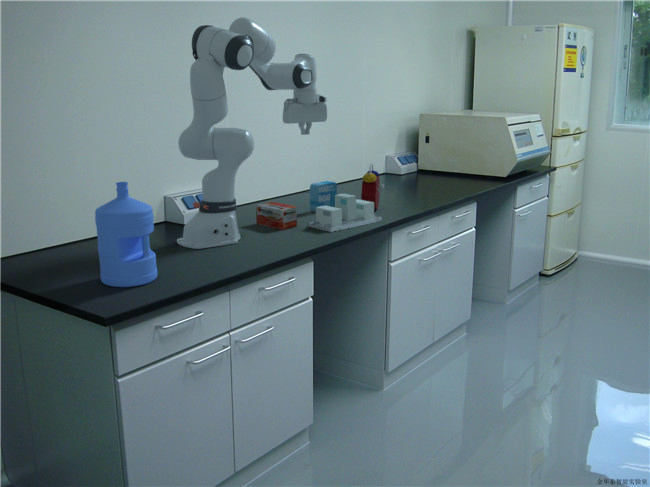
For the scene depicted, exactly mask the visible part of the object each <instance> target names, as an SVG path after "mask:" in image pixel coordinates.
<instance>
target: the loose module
mask: <svg viewBox="0 0 650 487" xmlns="http://www.w3.org/2000/svg"><path fill="white" fill-rule="evenodd" d="M356 200H357V196H356V195H353V194H348V193H338V194H337V195H335V208H340V209H342V219H343V220H352V219H356Z"/></svg>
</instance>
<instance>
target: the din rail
mask: <svg viewBox="0 0 650 487" xmlns="http://www.w3.org/2000/svg"><path fill="white" fill-rule="evenodd" d="M382 221H383V217H382V216H378V215H377V213H374V217H373V218H369V219H363V217H358V218H357V217H356V219H352V220H343V219H342V225H337V226H333V227H332V226H330V224H326V225H324V224H320V223H319V221H317V222H316V220H315V221H310V222H307V227H308V228H312V229H316V230H318V231H319V230H320V231H324V232H327V231H328V233H335V232H334V231H336V232H340V231H343V230H348V228H349V229H352V228H357V227H361V226H365V225H370V224H375V223H378V222H379V223H380V222H382ZM339 230H340V231H339Z"/></svg>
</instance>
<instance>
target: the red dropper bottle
mask: <svg viewBox="0 0 650 487" xmlns="http://www.w3.org/2000/svg"><path fill="white" fill-rule="evenodd" d="M380 176H381V175H380V174H379V172H378V171H377V170H374V164H372V163H370V165H369V169H368V171H367V172H366V173H365V174H364V175H363V177H361V180H362V184H361V196H360V197H361V199H360V200H364V201H369V202H374V211H378V209H379V205H380V194H381V193H382V192H383V190H382V189H384V188H385V183H382V184H381V183H380Z"/></svg>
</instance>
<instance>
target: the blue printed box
mask: <svg viewBox="0 0 650 487" xmlns="http://www.w3.org/2000/svg"><path fill="white" fill-rule="evenodd" d="M337 193H338V186H337V182H336V181H329V180H325V181H320V182H313V183H311V184H310V186H309V210H310V211H311V212H313V213H316V207H320V206H325V205H326V206H330V207H335V195H337Z"/></svg>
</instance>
